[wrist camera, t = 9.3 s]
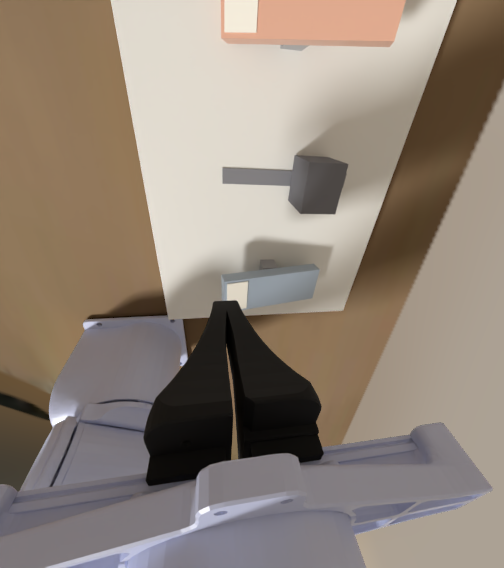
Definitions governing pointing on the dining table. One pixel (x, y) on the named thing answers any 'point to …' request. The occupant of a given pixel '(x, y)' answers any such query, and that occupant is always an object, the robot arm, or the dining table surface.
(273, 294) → the plate
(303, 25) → the pink plate with label
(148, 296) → the dining table surface
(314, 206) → the block
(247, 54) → the switch panel
